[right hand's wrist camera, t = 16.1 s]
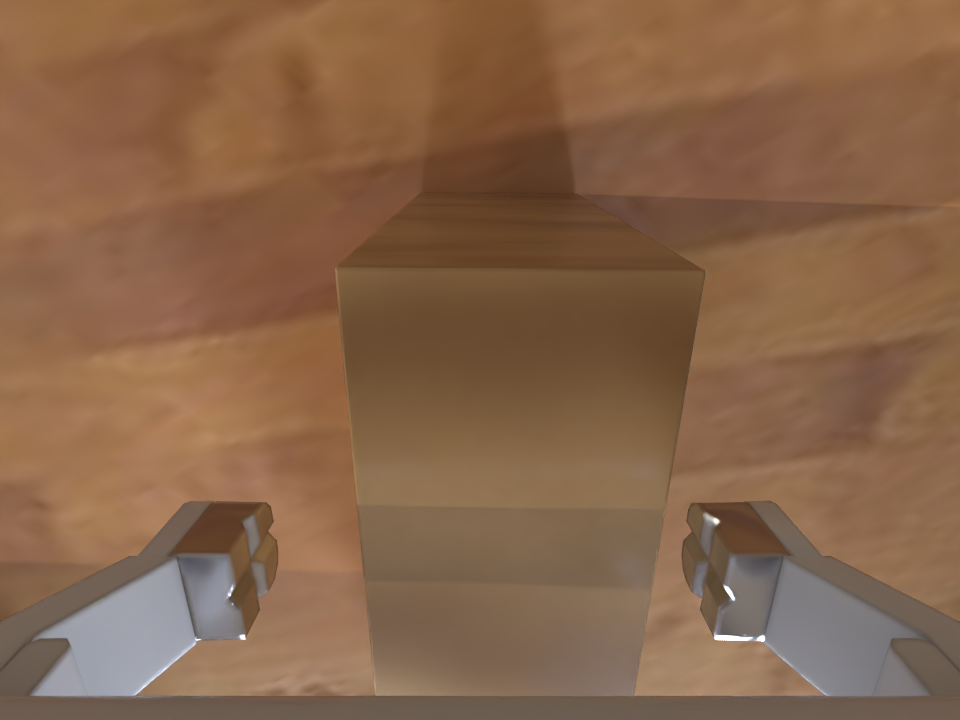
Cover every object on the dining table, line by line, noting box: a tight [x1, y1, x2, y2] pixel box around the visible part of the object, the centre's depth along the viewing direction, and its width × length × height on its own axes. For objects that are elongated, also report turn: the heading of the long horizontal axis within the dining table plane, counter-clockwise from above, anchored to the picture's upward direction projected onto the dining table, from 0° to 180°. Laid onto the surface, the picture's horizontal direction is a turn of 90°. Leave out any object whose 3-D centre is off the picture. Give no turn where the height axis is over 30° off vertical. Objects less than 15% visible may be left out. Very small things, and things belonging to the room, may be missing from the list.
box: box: [335, 193, 705, 696], centre depth 19 cm, size 28×6×12 cm, turn 0°
